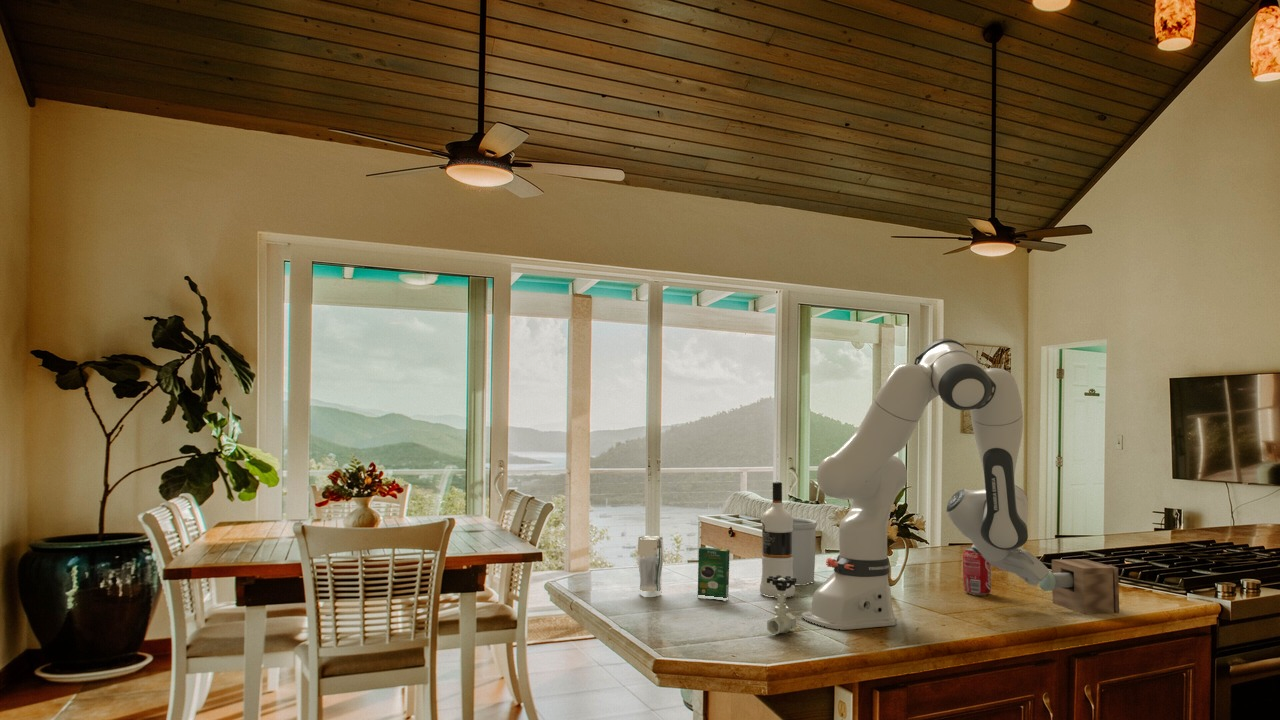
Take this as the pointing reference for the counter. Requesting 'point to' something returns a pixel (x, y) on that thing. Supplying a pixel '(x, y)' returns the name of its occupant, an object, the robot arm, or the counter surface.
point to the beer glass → (650, 562)
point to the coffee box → (713, 572)
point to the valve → (781, 607)
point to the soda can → (976, 573)
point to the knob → (1057, 581)
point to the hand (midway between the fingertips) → (1034, 583)
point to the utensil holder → (803, 549)
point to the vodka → (776, 544)
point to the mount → (1088, 586)
